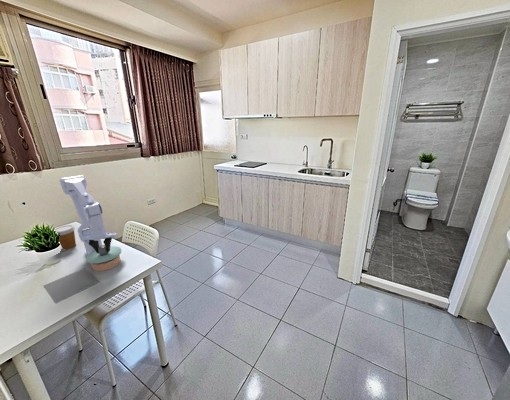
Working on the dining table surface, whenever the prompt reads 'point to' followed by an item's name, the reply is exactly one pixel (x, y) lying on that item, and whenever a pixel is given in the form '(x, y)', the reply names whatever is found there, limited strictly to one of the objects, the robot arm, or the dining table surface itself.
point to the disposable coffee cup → (66, 236)
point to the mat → (70, 285)
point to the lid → (103, 254)
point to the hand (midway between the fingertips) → (103, 251)
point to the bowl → (106, 264)
